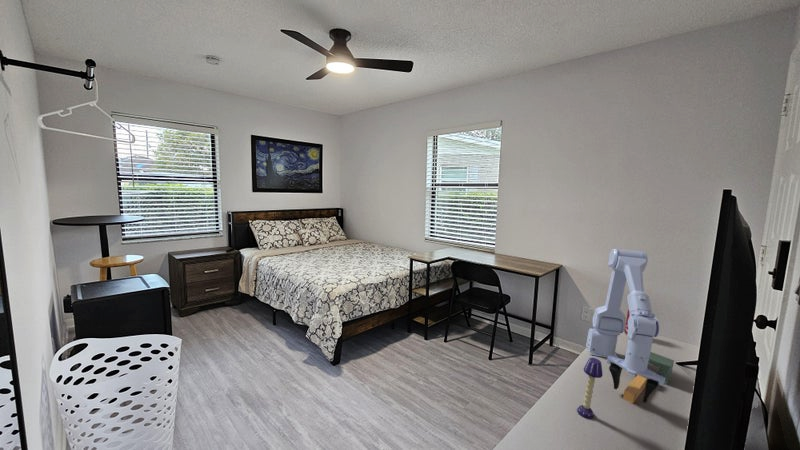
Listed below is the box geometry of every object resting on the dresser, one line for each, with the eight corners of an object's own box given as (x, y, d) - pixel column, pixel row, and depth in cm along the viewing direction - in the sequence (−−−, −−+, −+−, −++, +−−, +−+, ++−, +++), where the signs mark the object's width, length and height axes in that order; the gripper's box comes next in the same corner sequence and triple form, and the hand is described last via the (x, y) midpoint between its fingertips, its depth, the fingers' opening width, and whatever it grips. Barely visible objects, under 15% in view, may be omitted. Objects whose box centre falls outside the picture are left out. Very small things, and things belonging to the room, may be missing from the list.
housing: (666, 384, 112) (669, 366, 111) (628, 369, 120) (631, 352, 119) (670, 378, 116) (674, 360, 115) (634, 363, 124) (637, 346, 123)
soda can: (641, 338, 144) (646, 311, 142) (629, 337, 144) (633, 310, 142) (633, 332, 149) (637, 306, 147) (621, 331, 150) (625, 305, 147)
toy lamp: (579, 405, 100) (587, 353, 97) (597, 412, 97) (605, 359, 95) (575, 413, 97) (583, 360, 94) (593, 421, 94) (602, 367, 91)
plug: (635, 405, 102) (637, 394, 101) (620, 397, 105) (622, 387, 104) (652, 381, 114) (654, 371, 113) (638, 375, 117) (640, 366, 116)
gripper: (606, 347, 104) (599, 387, 107) (664, 370, 93) (655, 413, 96) (614, 340, 109) (607, 378, 111) (670, 361, 98) (661, 403, 100)
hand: (630, 394), depth 104 cm, fingers open, 7 cm apart
